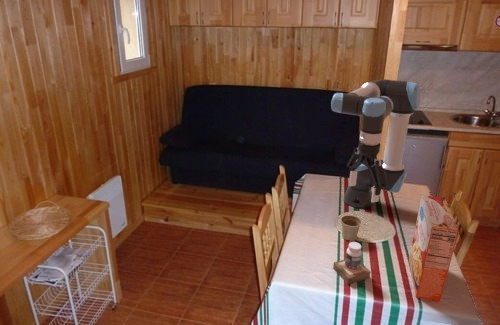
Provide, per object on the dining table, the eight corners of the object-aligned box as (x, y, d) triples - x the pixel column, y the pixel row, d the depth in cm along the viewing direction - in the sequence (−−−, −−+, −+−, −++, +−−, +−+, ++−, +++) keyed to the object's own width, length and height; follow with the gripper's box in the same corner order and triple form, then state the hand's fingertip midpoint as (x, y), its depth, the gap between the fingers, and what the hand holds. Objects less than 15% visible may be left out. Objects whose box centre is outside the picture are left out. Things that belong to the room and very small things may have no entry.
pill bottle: (342, 262, 153) (345, 241, 149) (356, 261, 153) (359, 240, 149) (347, 271, 148) (350, 250, 144) (361, 271, 148) (364, 249, 144)
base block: (333, 268, 154) (333, 262, 153) (354, 262, 158) (354, 256, 157) (347, 284, 146) (348, 277, 145) (369, 277, 149) (370, 271, 148)
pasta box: (408, 259, 160) (422, 195, 148) (429, 262, 158) (444, 197, 146) (416, 297, 140) (432, 226, 128) (440, 301, 138) (458, 230, 126)
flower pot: (360, 233, 177) (363, 217, 174) (359, 244, 169) (361, 228, 166) (339, 229, 180) (341, 213, 177) (337, 240, 172) (339, 224, 168)
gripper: (341, 132, 149) (336, 181, 158) (384, 156, 128) (376, 211, 137) (357, 129, 151) (351, 177, 160) (402, 152, 130) (393, 206, 139)
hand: (363, 193), depth 149 cm, fingers open, 13 cm apart
